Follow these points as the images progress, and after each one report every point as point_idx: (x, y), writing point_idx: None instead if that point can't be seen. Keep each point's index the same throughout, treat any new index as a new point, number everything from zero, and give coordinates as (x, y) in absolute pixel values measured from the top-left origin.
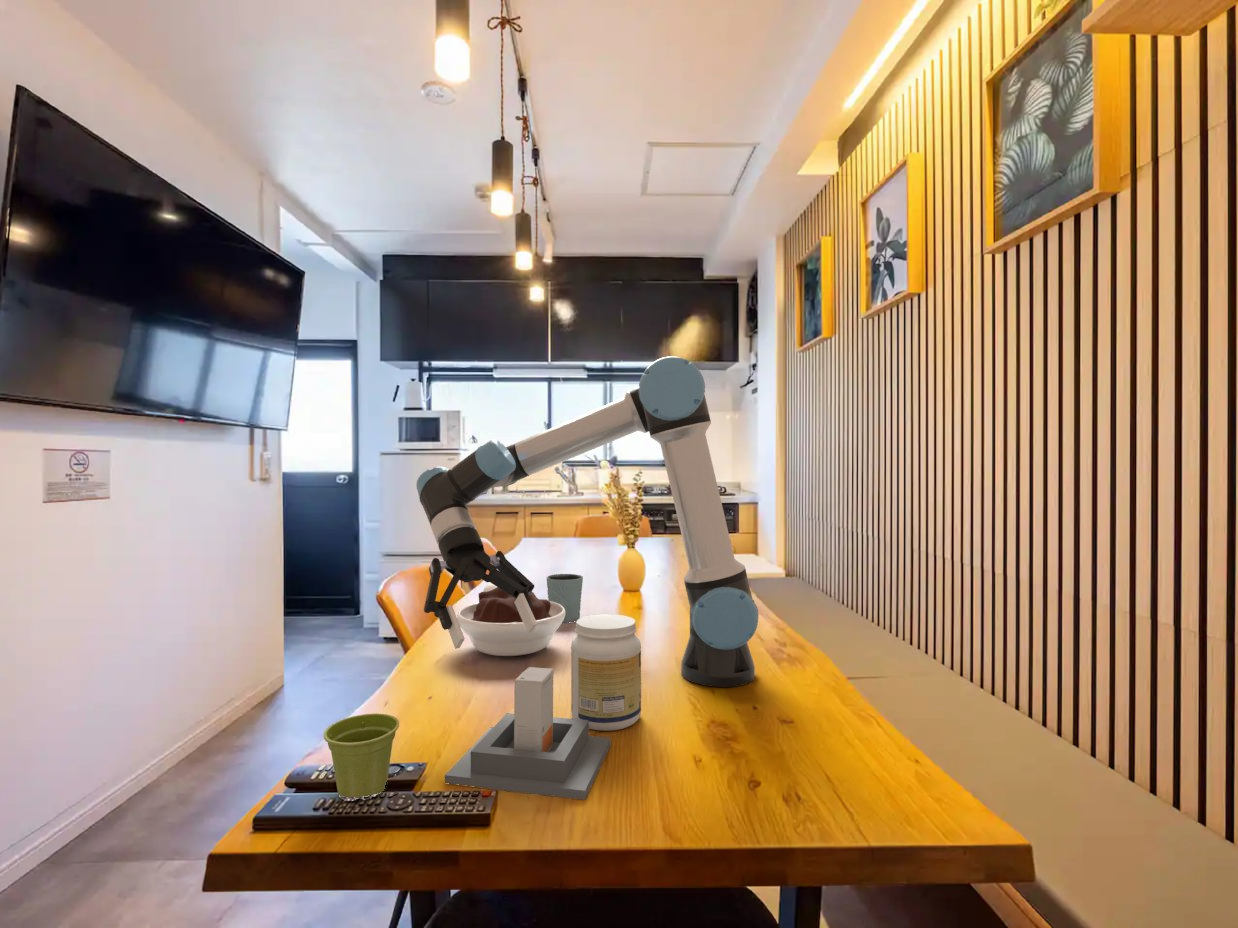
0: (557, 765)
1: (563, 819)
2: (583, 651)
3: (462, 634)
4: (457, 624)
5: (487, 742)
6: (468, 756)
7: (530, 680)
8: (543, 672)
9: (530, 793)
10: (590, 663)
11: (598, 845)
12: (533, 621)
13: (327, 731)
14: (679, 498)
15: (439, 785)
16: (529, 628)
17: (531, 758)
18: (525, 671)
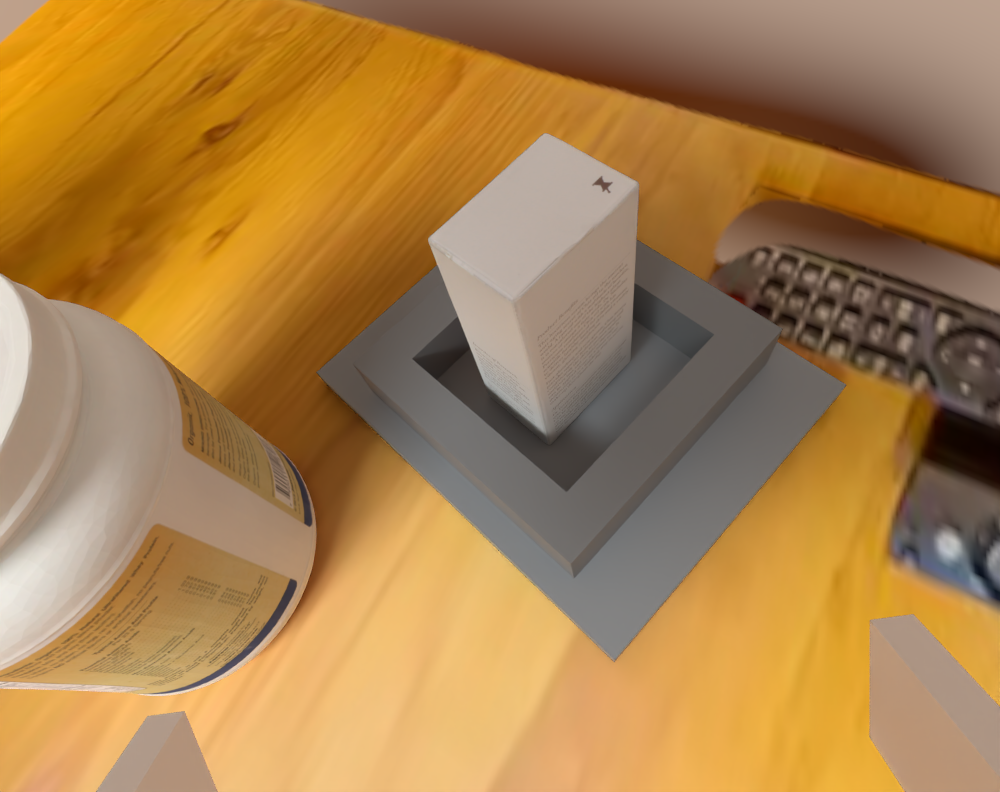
0: None
1: (602, 162)
2: (158, 396)
3: (901, 648)
4: (998, 742)
5: (714, 362)
6: (753, 463)
7: (580, 154)
8: (489, 211)
9: None
10: (183, 385)
11: (580, 86)
12: (157, 737)
13: None
14: None
15: (854, 395)
16: (205, 788)
17: None
18: (555, 249)
